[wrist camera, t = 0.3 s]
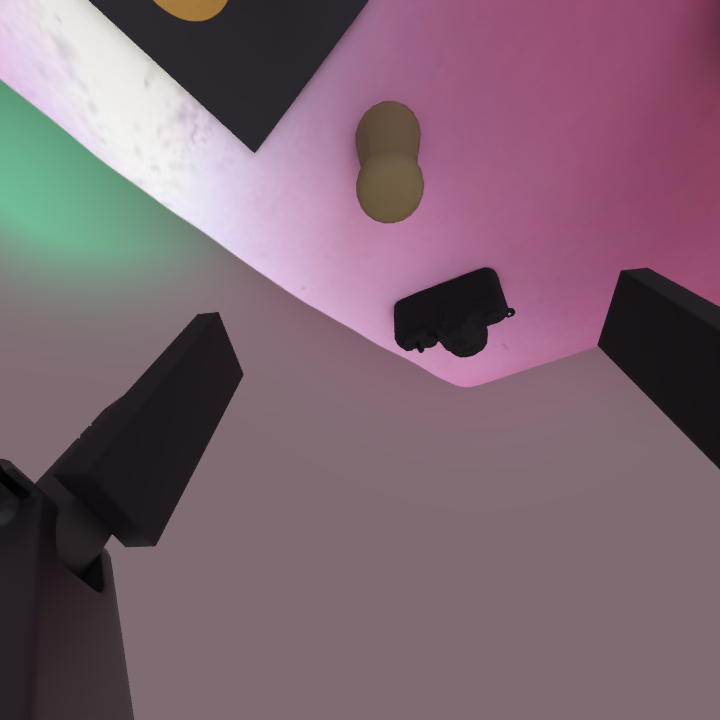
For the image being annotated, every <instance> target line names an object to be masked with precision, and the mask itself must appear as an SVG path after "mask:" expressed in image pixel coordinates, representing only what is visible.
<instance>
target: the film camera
mask: <svg viewBox="0 0 720 720" xmlns="http://www.w3.org/2000/svg"><path fill="white" fill-rule="evenodd" d="M509 312H510V313H511V315H510V316H509V315H508V313H509ZM514 314H515V310H514V309H513V308H508V306H507V303H506V300H505V297H504V294H503V291H502V288H501V285H500V281H499V278H498V276H497V273H496V272H495V271H494V270H492V269H490V268H484V269H481V270H478V271H475V272H472V273H469V274H466V275H463V276H461V277H458V278H456V279H453V280H450V281H447V282H445V283H442V284H439V285H437V286H434V287H432V288H429V289H427V290H424V291H421V292H419V293H416V294H414V295H412V296H409V297H407V298H405V299H402V300H400V301H398V302H397V303H396V305H395V309H394V332H395V340H396V342H397V344H398V345H399V346H400V347H401V348H403V349H404V350H406V351H412V350H413V349H416V348H417V349H418V351H419V352H420V353H423V351H424V348H431V347H434V346H435V345H436V344H437V342H439V341H440V343H441V344H442V345H443V346H444V348H445V349H446V350H448V351H451V352H452V353H453V354H454V355H456V356H458V357H469V356H473V355H475V354H477V353H478V352H480V351H482V350H483V349H484V347H485V346H486V344H487V338H488V329H487V327H486V326H489V325H492V324H495V323H498V322H500V321H502V320H503V319H504V318H505V317H508V318H509V317H511V316H514Z"/></svg>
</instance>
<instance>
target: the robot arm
mask: <svg viewBox="0 0 720 720" xmlns="http://www.w3.org/2000/svg"><path fill="white" fill-rule="evenodd" d="M598 346H599V347H600V348H601V349H602V350H603V351H604V352H605V353H606V354H607V355H608V356H609V358H610V359H611V360H612V361H613V362H614V363H616V365H617V366H618V367H619V368H620V369H621V370H622V371H623V372H624V373H625V374H626V375H627V376H628V377H630V379H631V380H632V381H633V382H634V383H635V384H636V385H637V386H638V387H639V388H640V389H641V390H642V391H643V392H644V393H645V394H646V395H647V396H648V397H649V398H650V399H651V400H652V401H653V402H654V403H655V404H656V405H657V406H658V407H659V408H660V409H661V410H662V411H663V412H664V413H665V414H666V415H667V416H668V417H669V418H670V419H671V420H672V421H673V422H674V424H675V425H676V426H678V427H679V428H680V430H681V431H682V432H683V433H684V434H685V435H686V436H687V437H688V438H689V439H690V440H691V441H692V442H693V443H694V444H695V445H696V446H697V447H698V448H699V449H700V450H701V451H702V452H703V453H704V454H705V455H706V456H707V457H708V458H709V459H710V460H711V461H712V462H713V463H714V464H715V465H716V466H717V467H718V468H719V469H720V307H719V306H717V305H715V304H713V303H711V302H710V301H708V300H706V299H704V298H702V297H700V296H698V295H697V294H695V293H693V292H691V291H689V290H687V289H686V288H684V287H682V286H680V285H678V284H676V283H675V282H673V281H671V280H669V279H667V278H665V277H664V276H662V275H660V274H658V273H656V272H654V271H653V270H651V269H649V268H641V269H631V270H622V271H621V272H620V275H619V278H618V282H617V285H616V288H615V291H614V294H613V297H612V301H611V304H610V307H609V310H608V313H607V316H606V320H605V323H604V326H603V329H602V332H601V335H600V339H599V342H598ZM242 377H243V372H242V369H241V367H240V364H239V362H238V359H237V357H236V354H235V352H234V350H233V347H232V345H231V343H230V340H229V337H228V335H227V332H226V330H225V327H224V325H223V322H222V320H221V317H220V315H219V312H215V313H205V314H197V316H196V317H195V318H194V319H193V320H192V321H191V322H190V323H189V324H188V325H187V327H186V328H185V329H184V330H183V331H182V332H181V333H180V334H179V335H178V337H177V338H176V339H175V340H174V341H173V342H172V343H171V344H170V345H169V346H168V347H167V349H166V350H165V351H164V352H163V353H162V354H161V355H160V356H159V357H158V358H157V360H156V361H155V362H154V363H153V364H152V365H151V366H150V367H149V368H148V369H147V371H146V372H145V373H144V374H143V375H142V376H141V377H140V378H139V379H138V381H137V382H136V383H135V384H134V385H133V386H132V387H131V388H130V389H129V390H128V392H127V393H126V394H125V395H124V396H122V397H121V398H119V399H118V400H117V401H115V402H114V403H112V404H111V405H109V406H108V407H107V408H105V409H104V410H103V411H102V412H101V413H100V415H99V416H98V417H97V418H96V419H95V420H94V421H93V422H92V426H88V428H87V429H86V430H85V431H84V432H83V433H82V434H81V435H80V436H81V437H80V438H78V439H76V440H75V441H74V442H73V444H72V445H71V446H70V447H69V448H68V449H67V450H66V451H65V452H64V453H63V454H62V455H61V456H60V458H59V459H58V460H57V461H56V462H55V463H54V464H53V465H52V466H51V467H50V468H49V469H48V470H47V471H46V472H45V474H44V475H43V476H42V477H41V478H40V479H39V480H38V481H37V482H36V483H35V484H34V483H33V482H32V481H31V480H30V479H29V478H28V477H27V476H26V475H25V474H24V473H22V472H21V471H20V470H19V469H18V468H17V467H16V466H15V465H14V464H13V463H11V462H10V461H8V460H5V459H0V720H134V716H133V709H132V702H131V696H130V688H129V681H128V674H127V668H126V660H125V654H124V647H123V640H122V633H121V626H120V619H119V612H118V606H117V598H116V591H115V585H114V577H113V570H112V564H111V557H110V555H109V553H108V551H107V550H106V549H105V548H104V546H105V544H106V543H107V541H108V540H109V538H110V536H111V535H112V534H113V535H114V536H115V537H116V538H117V539H118V540H119V541H120V542H121V543H122V544H123V545H124V546H125V547H143V546H144V547H145V546H156V544H157V542H158V540H159V538H160V536H161V535H162V533H163V530H164V529H165V527H166V524H167V523H168V521H169V519H170V517H171V515H172V513H173V511H174V509H175V507H176V505H177V503H178V501H179V499H180V497H181V496H182V494H183V492H184V490H185V488H186V486H187V484H188V482H189V480H190V478H191V476H192V474H193V472H194V470H195V468H196V466H197V465H198V463H199V461H200V459H201V457H202V455H203V453H204V451H205V449H206V447H207V445H208V443H209V441H210V439H211V437H212V435H213V433H214V431H215V429H216V428H217V426H218V423H219V422H220V420H221V418H222V416H223V414H224V412H225V410H226V408H227V406H228V404H229V402H230V400H231V398H232V396H233V394H234V392H235V390H236V389H237V387H238V384H239V382H240V381H241V379H242Z"/></svg>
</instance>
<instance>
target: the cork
mask: <svg viewBox="0 0 720 720" xmlns="http://www.w3.org/2000/svg"><path fill="white" fill-rule="evenodd" d="M420 135H421V133H420V128H419V123H418V121H417V119H416V117H415V115H414V113H413V112H412V111H411V110H410V109H408V108H407V107H406V106H405V105H403V104H400V103H397V102H382V103H380V104H377V105H375V106H373V107H372V108H371V109H370V110H368V111H367V112H366V113H365V114H364V116H363V118H362V119H361V121H360V123H359V125H358V129H357V133H356V146H357V151H358V156H359V160H360V165H361V170H360V172H359V175H358V179H357V184H356V190H357V198H358V200H359V203H360V206H361V208H362V209H363V210H364V212H365V213H366V214H367V215H368V216H369V217H371V218H372V219H374V220H375V221H378V222H382V223H396V222H399V221H402V220H404V219H406V218H407V217H409V216H410V215H411V214H412V213H413V212H414V211H415V210H416V209H417V207H418V205H419V203H420V201H421V199H422V196H423V190H424V181H423V176H422V171H421V169H420V167H419V165H418V164H417V159H418V152H419V145H420Z"/></svg>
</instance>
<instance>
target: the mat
mask: <svg viewBox="0 0 720 720" xmlns="http://www.w3.org/2000/svg"><path fill="white" fill-rule="evenodd" d="M89 1H90V2H91V3H92V4H93V5H94V6H95V7H96V8H98V9H99V10H100V11H101V12H102V13H103V14H104V15H105V16H106V17H107V18H108V19H109V20H111V21H112V22H113V23H114V24H115V25H116V26H117V27H118V28H119V29H120V30H121V31H122V32H124V33H125V34H126V35H127V36H128V37H129V38H130V39H131V40H132V41H133V42H134V43H135V44H137V45H138V46H139V47H140V48H141V49H142V50H143V51H144V52H145V53H146V54H147V55H148V56H150V57H151V58H152V59H153V60H154V61H155V62H156V63H157V64H158V65H159V66H160V67H161V68H163V69H164V70H165V71H166V72H167V73H168V74H169V75H170V76H171V77H172V78H173V79H174V80H176V81H177V82H178V83H179V84H180V85H181V86H182V87H183V88H184V89H185V90H186V91H187V92H189V93H190V94H191V95H192V96H193V97H194V98H195V99H196V100H197V101H198V102H199V103H200V104H202V105H203V106H204V107H205V108H206V109H207V110H208V111H209V112H210V113H211V114H212V115H214V116H215V117H216V118H217V119H218V120H219V121H220V122H221V123H222V124H223V125H224V126H225V127H227V128H228V129H229V130H230V131H231V132H232V133H233V134H234V135H235V136H236V137H237V138H238V139H240V140H241V141H242V142H243V143H244V144H245V145H246V146H247V147H248V148H249V149H250V150H251V151H253V152H254V153H255V152H256V151H257V150H258V148H259V147H260V146H261V144H262V143H263V141H264V140H265V139H266V137H267V136H268V135H269V133H270V132H271V131H272V129H273V128H274V127H275V125H276V124H277V123H278V121H279V120H280V119H281V117H282V116H283V115H284V113H285V112H286V111H287V109H288V108H289V107H290V105H291V104H292V103H293V101H294V100H295V98H296V97H297V96H298V94H299V93H300V92H301V90H302V89H303V88H304V86H305V85H306V84H307V82H308V81H309V80H310V78H311V77H312V76H313V74H314V73H315V72H316V70H317V69H318V68H319V66H320V65H321V64H322V62H323V61H324V60H325V58H326V57H327V55H328V54H329V53H330V51H331V50H332V49H333V47H334V46H335V45H336V43H337V42H338V41H339V39H340V38H341V37H342V35H343V34H344V33H345V31H346V30H347V29H348V27H349V26H350V25H351V23H352V22H353V21H354V19H355V18H356V17H357V15H358V14H359V12H360V11H361V10H362V8H363V7H364V6H365V4H366V3H367V2H368V0H89Z"/></svg>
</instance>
